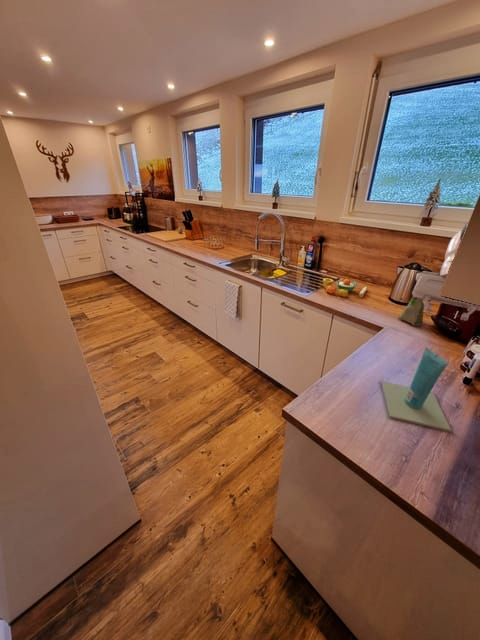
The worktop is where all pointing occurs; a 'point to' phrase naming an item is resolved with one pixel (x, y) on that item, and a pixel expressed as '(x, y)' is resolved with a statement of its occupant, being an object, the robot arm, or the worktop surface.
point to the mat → (423, 416)
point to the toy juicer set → (341, 287)
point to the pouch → (414, 312)
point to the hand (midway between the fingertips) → (445, 315)
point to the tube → (425, 378)
